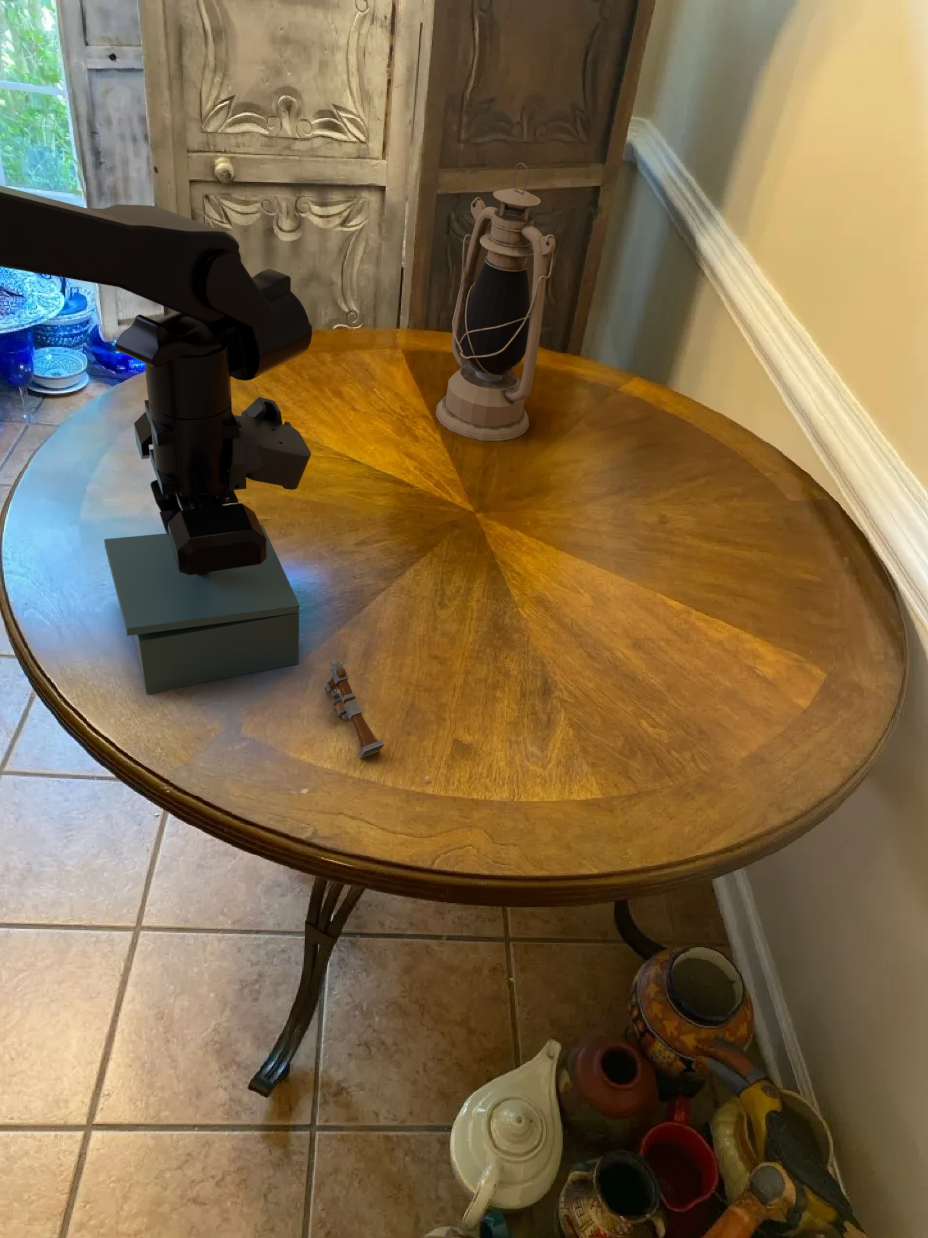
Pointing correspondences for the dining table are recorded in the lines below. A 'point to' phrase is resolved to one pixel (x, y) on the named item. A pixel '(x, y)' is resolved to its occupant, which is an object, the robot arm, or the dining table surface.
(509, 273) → the lantern
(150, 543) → the lid
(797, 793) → the dining table surface
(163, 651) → the chest
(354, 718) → the toy rocket launcher
